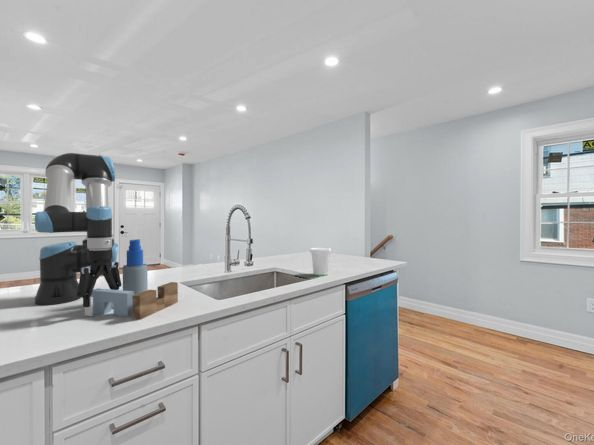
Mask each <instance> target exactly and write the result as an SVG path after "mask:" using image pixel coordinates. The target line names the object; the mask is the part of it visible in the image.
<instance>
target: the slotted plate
mask: <svg viewBox="0 0 594 445" xmlns="http://www.w3.org/2000/svg"><path fill="white" fill-rule="evenodd" d="M132 295H134V291H123V289H122V290H121V289H119V290H111V289H110V288H109V289H108V288H95V289H93V291H92V294H91V296H90V297H93V314H99V315H101V314H102V315H105V314H108V313H110V312H112V308H111V302H112V303H113V304H114V308H113V316H121V317H130V316H133V306H132Z"/></svg>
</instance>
